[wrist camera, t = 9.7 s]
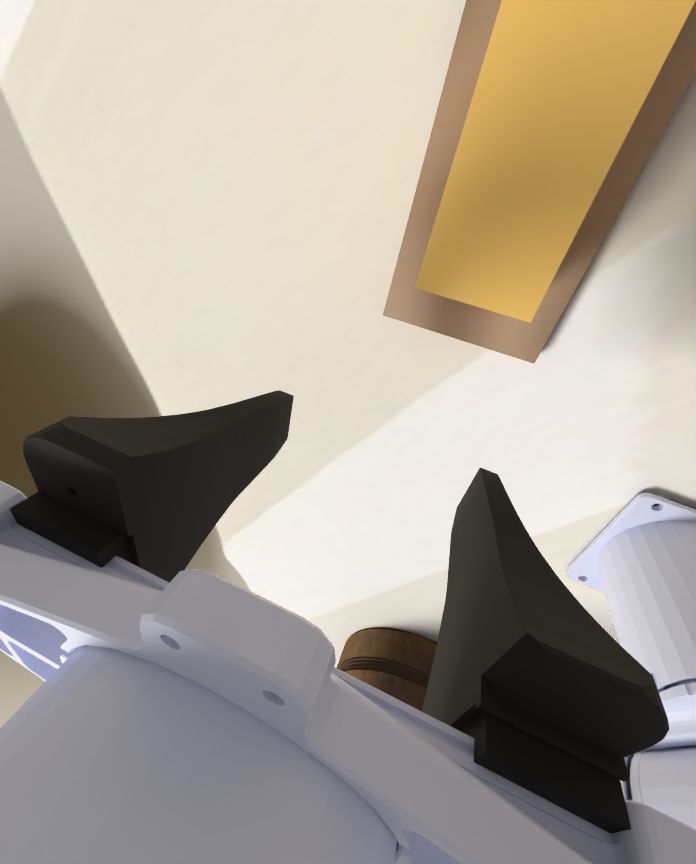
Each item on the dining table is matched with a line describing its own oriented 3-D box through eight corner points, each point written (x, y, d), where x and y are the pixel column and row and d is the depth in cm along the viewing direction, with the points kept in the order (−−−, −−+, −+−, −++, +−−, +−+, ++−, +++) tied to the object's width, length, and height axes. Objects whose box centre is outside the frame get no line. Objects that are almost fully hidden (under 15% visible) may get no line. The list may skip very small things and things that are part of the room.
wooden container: (330, 615, 37) (182, 976, 20) (479, 643, 31) (462, 1198, 14) (359, 692, 44) (268, 1015, 26) (488, 727, 38) (483, 1177, 20)
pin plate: (772, -82, 10) (877, -195, 8) (532, 356, 18) (539, 382, 16) (501, -110, 12) (503, -214, 9) (387, 311, 20) (369, 327, 17)
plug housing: (662, 14, 11) (729, -67, 8) (523, 301, 16) (530, 322, 13) (519, -7, 12) (529, -91, 9) (429, 274, 17) (414, 287, 14)
